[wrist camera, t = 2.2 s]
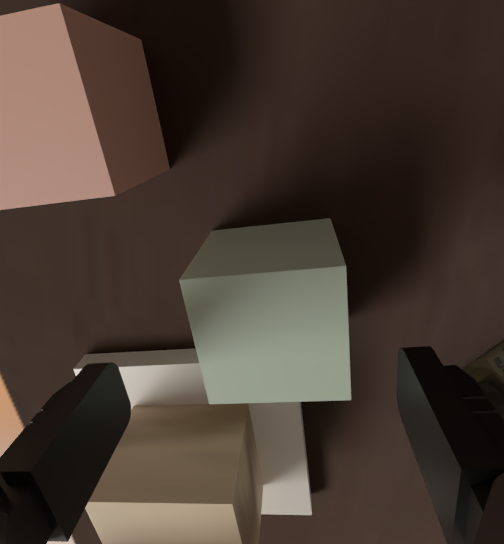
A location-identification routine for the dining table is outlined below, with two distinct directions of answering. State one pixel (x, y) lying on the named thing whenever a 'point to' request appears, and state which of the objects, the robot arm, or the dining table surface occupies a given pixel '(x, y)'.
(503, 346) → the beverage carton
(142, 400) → the pad
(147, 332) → the dining table surface
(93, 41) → the coral block
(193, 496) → the maple block
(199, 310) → the sage block
